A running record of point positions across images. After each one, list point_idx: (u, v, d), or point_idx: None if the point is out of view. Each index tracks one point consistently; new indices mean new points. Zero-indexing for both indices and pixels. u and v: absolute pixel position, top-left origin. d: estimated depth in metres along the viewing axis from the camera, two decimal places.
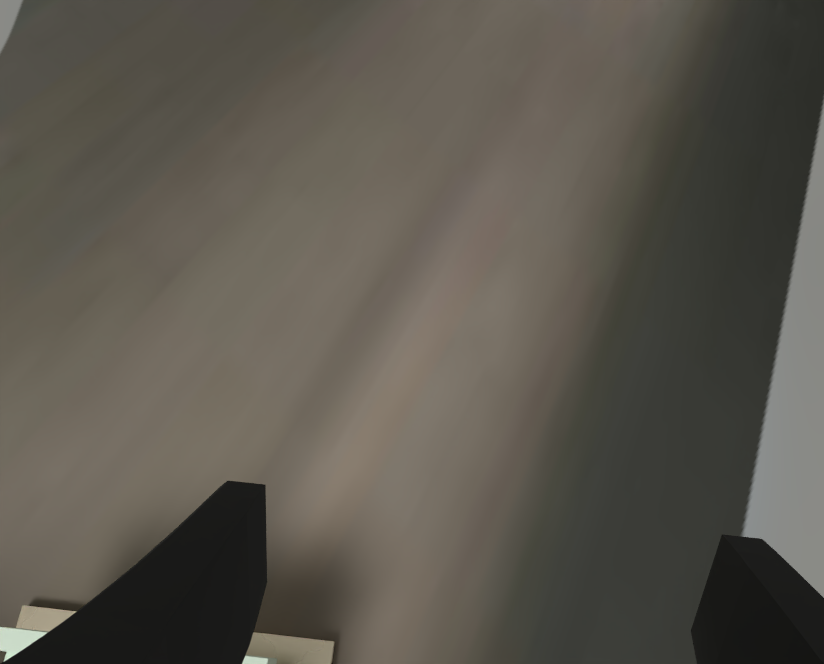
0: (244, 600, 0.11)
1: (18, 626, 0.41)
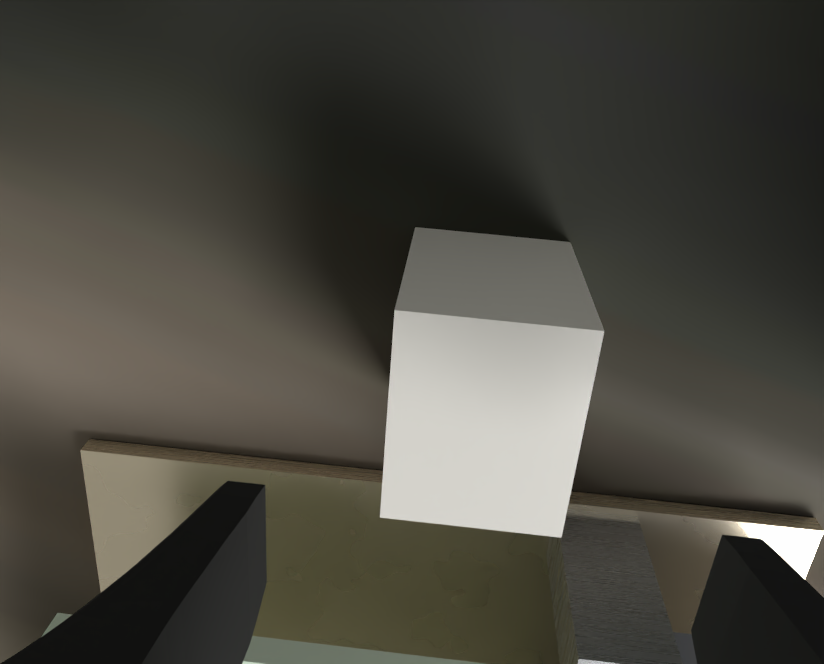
0: (244, 600, 0.11)
1: None
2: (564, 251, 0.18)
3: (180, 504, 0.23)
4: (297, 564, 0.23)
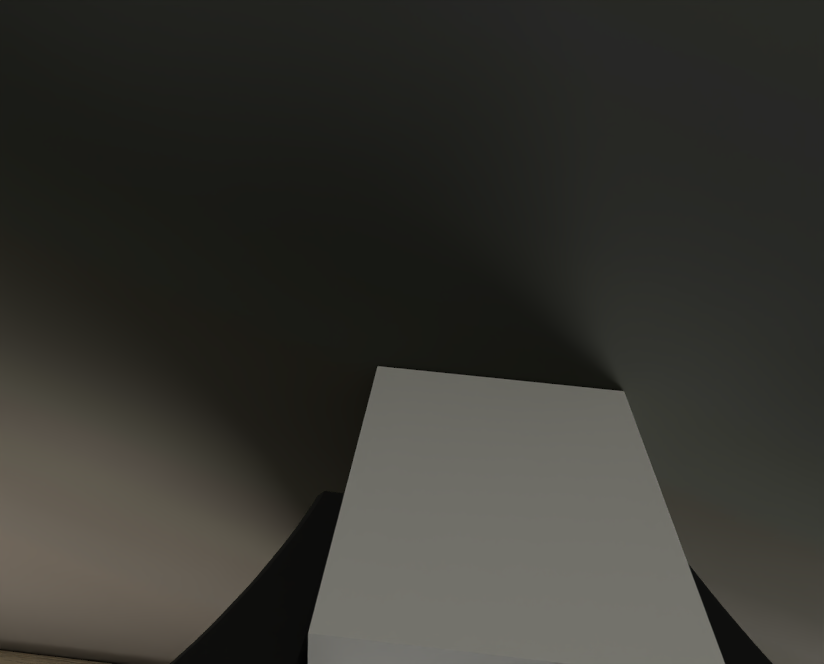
0: None
1: None
2: (618, 418, 0.11)
3: None
4: None
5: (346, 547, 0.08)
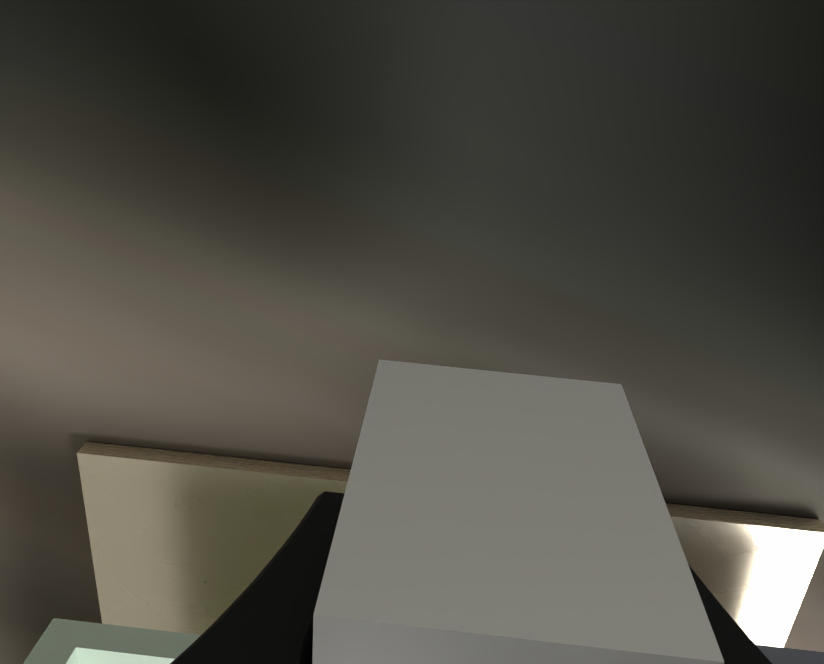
0: None
1: None
2: (616, 410, 0.11)
3: (177, 507, 0.22)
4: None
5: (350, 533, 0.08)
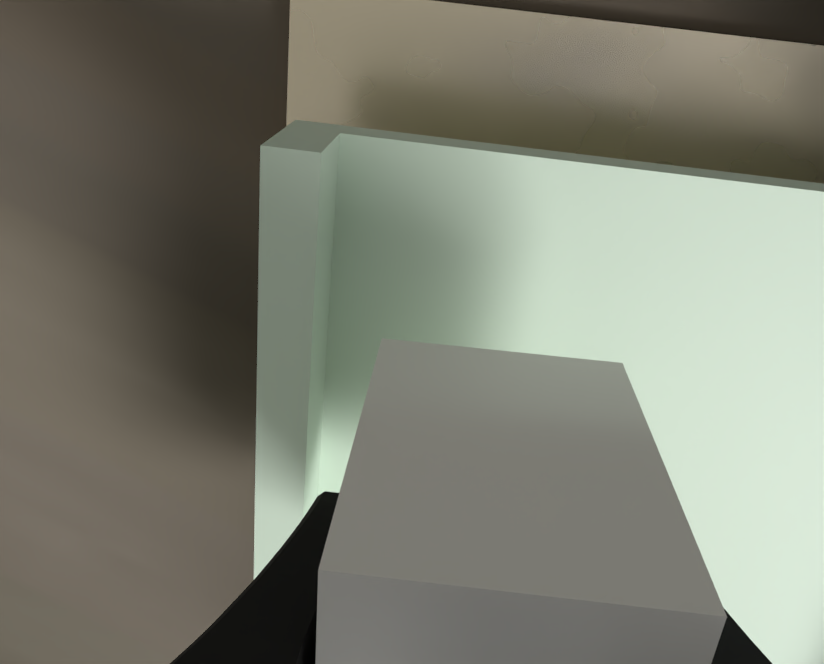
0: None
1: None
2: (617, 386, 0.11)
3: (410, 74, 0.17)
4: None
5: (354, 496, 0.08)
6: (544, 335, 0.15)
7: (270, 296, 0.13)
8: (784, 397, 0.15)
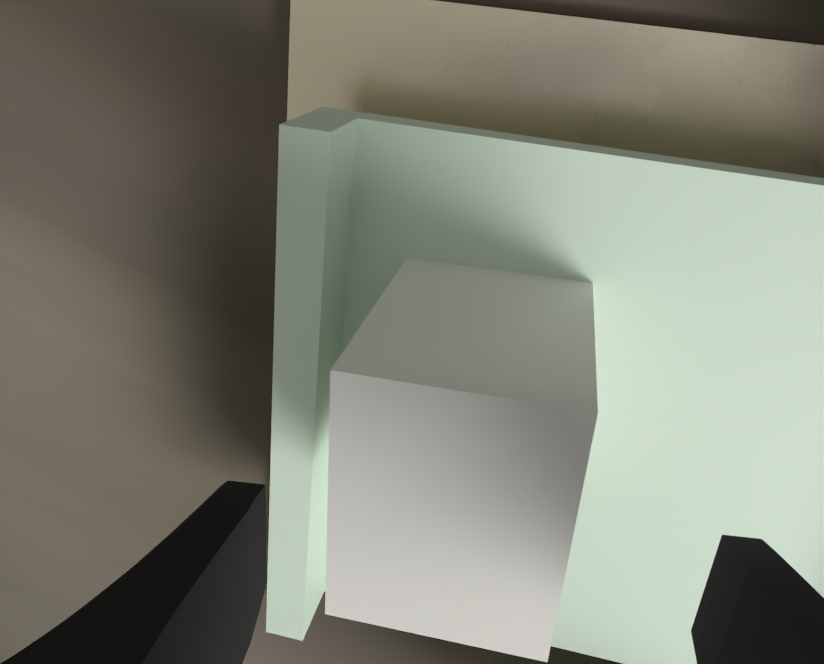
0: (244, 600, 0.11)
1: None
2: (581, 295, 0.15)
3: (410, 74, 0.18)
4: None
5: (362, 339, 0.12)
6: None
7: (286, 259, 0.15)
8: (774, 384, 0.15)
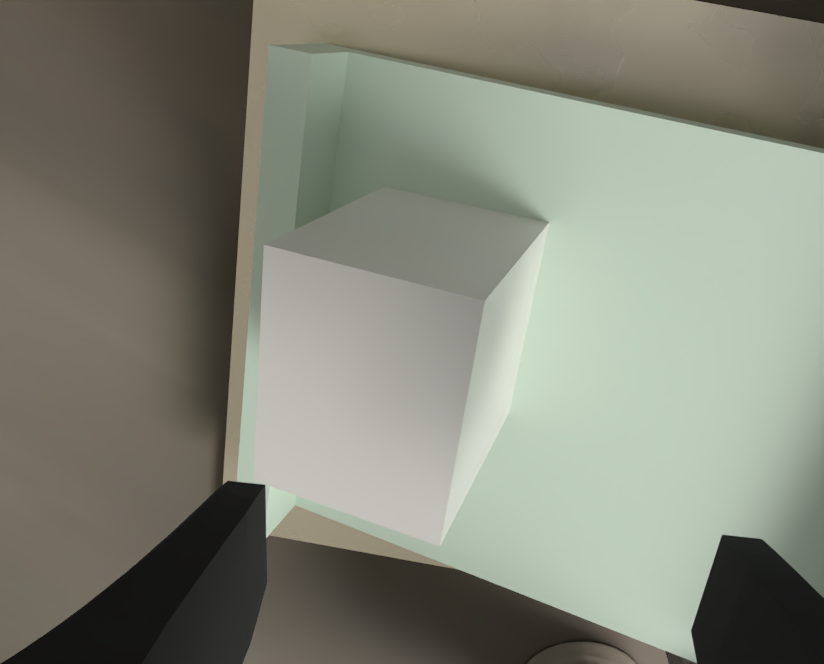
0: (244, 600, 0.11)
1: None
2: (530, 229, 0.16)
3: (377, 22, 0.17)
4: None
5: (306, 230, 0.14)
6: None
7: (268, 171, 0.16)
8: (715, 338, 0.16)
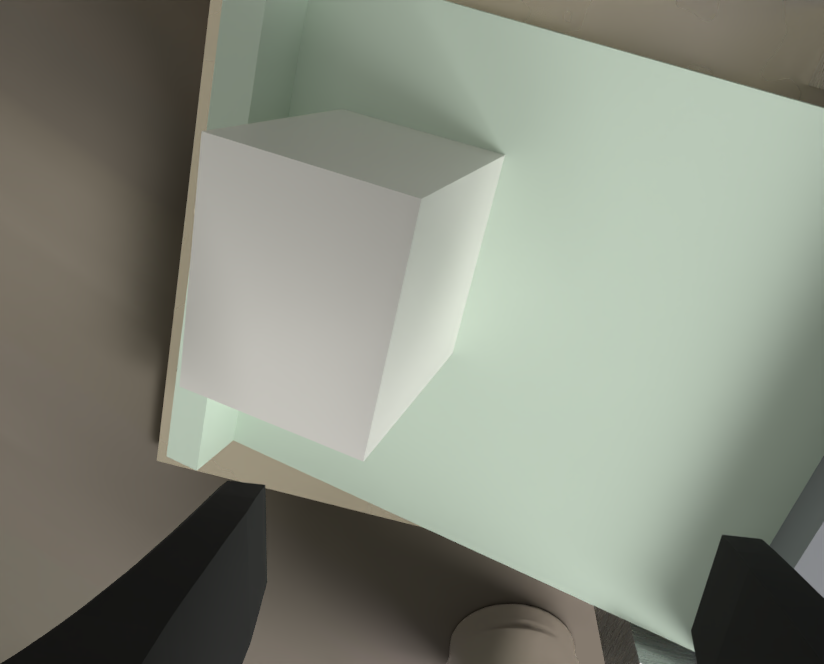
0: (244, 600, 0.11)
1: None
2: (484, 157, 0.15)
3: None
4: None
5: (250, 127, 0.13)
6: None
7: (221, 77, 0.16)
8: (662, 284, 0.16)
